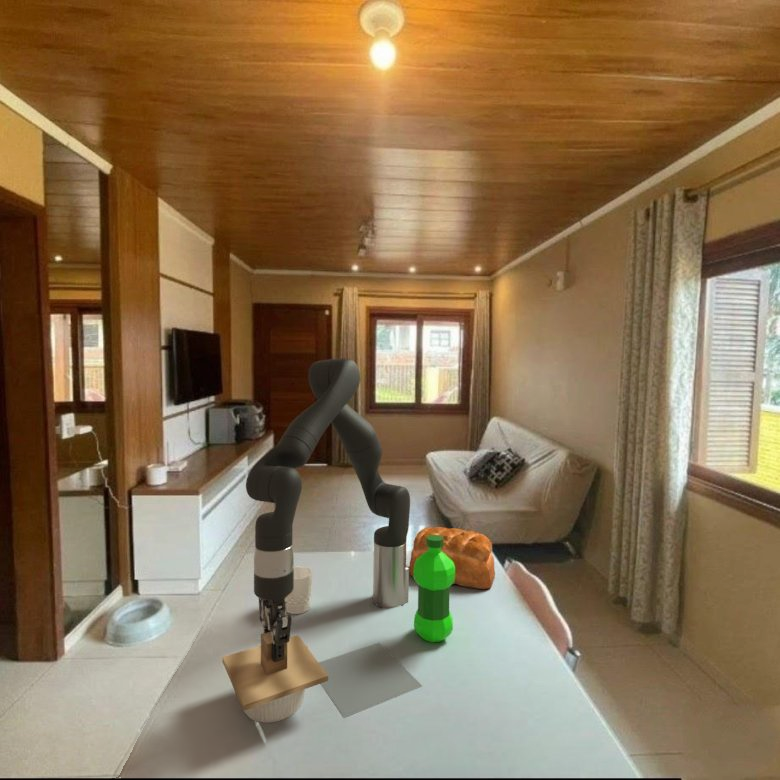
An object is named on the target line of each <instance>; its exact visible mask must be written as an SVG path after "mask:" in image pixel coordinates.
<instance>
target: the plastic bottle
mask: <svg viewBox="0 0 780 780" xmlns="http://www.w3.org/2000/svg"><path fill="white" fill-rule="evenodd" d="M426 546H428V551H427V552H425V553H424V554H422V555H421V556H420V557H419V558H417V559H416V561H415V564H414V570H413V575H414V577H413V580H414V582H415V583H417V586H418V588H417V589H418V590H417V591H418V592H417V593H418V594H417V597H418V598H417V610H416V612H415V614H414V617H413V618H414V620H413V628H414V631H415V632H416V634H418V636H419V637H421V638H422V639H423V640H425V641H427V642H430V643H441V642H443V641H444V640H445V639H446V638H448V637H449V636H450V635H451V634H452V632H453V626H454V625H453V616H452V613H451V611H450V590H451V589H450V588H451V586H452V585H454V584H453V583H454V580H455V565H454V563H453V561H452V560H451V559H450V558H449V557H448V556H447V555H445V554H444V553H443V552H442V551H441V547H443V537H442V536H440V535H429V536H427V538H426Z"/></svg>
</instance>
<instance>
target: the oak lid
mask: <svg viewBox="0 0 780 780" xmlns="http://www.w3.org/2000/svg"><path fill="white" fill-rule="evenodd" d="M275 632H276V631H275ZM271 640H272V637H271V632H267V633H264V632H263V633H261V634H260V645H259V646H255V647H252V648H250V649H245V650H242V651H238V652H235V653H230V654H227V655H224V656H222V657H221V658H222V664H223V666H224V669H225V671H226V674H227V676H228V679H229V681H230V682H231V685H232V687H233V689H234V692H235V695H236V697H237V699H238V703H239V704H240V706H241V709H242V711H243V712H245V710H248V709H251V708H254V707H256V706H259V705H262V704H265V703H268V702H270V701H273V700H276V699H279V698H282V697H284V696H287V695H290V694H293V693H295V692H298V691H301V690H304V689H305V690H307V689H309V688H312V687H315V686H318V685H321V683H323V682H326V681H328V675H327V673H326V672H325V671H324V669H323V668H322V666H321V665H320V664H319V662H320V661H318V660H317V658H316V656H314V654H313V653H312V652H311V650H310V649H309V647H308V646H307V645H306V644H305V643H304V641H303V640H302V638H301V637H300V635H298V634H296V635H294V636H290V638H289V642H287V643H284V659H283V660H281V661H278V662H273V660H272V641H271Z"/></svg>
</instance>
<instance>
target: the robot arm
mask: <svg viewBox="0 0 780 780" xmlns="http://www.w3.org/2000/svg"><path fill="white" fill-rule="evenodd" d="M307 377H308V382H309V385H310V389H311V391H312V393H313V395H314V397H315V399H316V401H315V402H314V403H313V404H311V405H309V407H307V408H306V409H304V410H303V411H302V412H301V413H300V414H298V415H297V416H296V417H295V418H294V419H293V420H292V421H291V423H289V426H288V427H287V428H286V430H285V431H284V433H283V434H282V436H281V438H280V439H279V441H278V443H277V444H276V445H275V446H274V447H272V448H271V449H270V450H269V451H268V452H267V453H265V454H264V455H263V456H262V457H261V458H260V459H259V460H258V461H257V462H256V463H255V464H254V465H253V466H252V468H251V469H250V471H249V473H248V474H247V477H246V482H245V491H246V493H247V495H248V496H249V497H250V498H251V499H253V500H254V501H256V502H257V501H258V502H264V503H270V504H274V505H275V506H274V511H269V512H265V513H262V514H260V515H258V516H257V518H256V520H255V531H254V533H255V536H254V539H255V540H254V541H255V542H254V543H255V545H254V555H253V593H254V595H255V596H256V597H257V599H258V609H259V620H260V622H261V623H262V624H261V626H262V629H263V633H267V632H271V637H272V640H271V641H272V660H273V662H278V661H281V660H283V659H284V643H287V642H289V638H290V637H291V629H292V619H293V617H292V615H291V614H287V612H286V611H287V603H286V601H285V598H286V597H287V596H288V595H289V594H290V593H291V592H292V591H293V588H294V567H295V566H294V564H295V562H294V561H295V555H294V548H293V530H294V529H293V523H294V519H295V515H296V512H297V507H298V503H299V500H300V497H301V494H302V490H303V489H302V488H303V486H302V485H303V481H302V477H301V475H300V473H299V471H298V470H296V469H298V468H302V467H304V466H305V465H306V464H307V462H308V461H309V460H310V457H311V456H312V454H313V453H314V450H315V449H316V446H317V444H318V443H319V441H320V439H321V437H322V436H323V434H324V433H325V431H326V430H327V429H328V427H329V426H330V425H331V424H332V426H333V428H334V430H335V433H337V436H338V438H339V441H340V443H341V445H342V446H343V449H344V452H345V454H346V456H347V458H348V459H349V461H350V464H351V465H352V467H353V470H354V472H355V475H356V477H357V478H358V479H357V480H358V481H359V483H360V485H361V488H362V491H363V495H364V497H365V500H366V505H367V506H368V508H369V510H370V511H371V513H373V514H374V515H376V516H378V517H382V518H386V519H388V525H387V526H380V527H379V528H377V529H376V530H375V531H374V532H373V565H372V566H373V568H372V569H373V573H372V574H373V575H372V576H373V577H372V578H373V581H372V585H373V586H372V588H373V589H372V596H373V597H372V602H373V603H374V605H375V606H377V607H378V608H379V607H380V608H382V609H383V608H390V609H391V608H398V607H400V606H403V605H404V604H405V603H406V602H407V603H408V602H409V587H410V585H409V583H410V576H409V575H410V574H409V567H408V566H407V536H408V532H409V526H410V522H409V521H410V512H411V511H410V510H411V496H410V492H409V490H408V488H406V487H404V486H401V485H395V484H389V483H386V482H385V481H384V480H383V478H382V476H381V475H380V471H379V467H380V464H381V461H382V458H383V447H382V444H381V441H380V439H379V436H378V435H377V432H376V429H375V428H374V427H373V425H372V424H371V423H370V422H369V421H368V420H367V419H366V418H365V417H363V416H362V415H361V414H359V413H358V412H357V411H356V410H354V409H353V408H352V407H351V406H350V405H349V404H348V402H349V401H350V400H351V399H352V398H353V396H354V395H355V393H356V392H357V390H358V388H359V386H360V382H361V372H360V368H359V366H358V365H357V363H356V362H355V361H354V360H353V359H351V358H345V357H344V358H342V357H341V358H331V359H323V360H318V361H315V362H313V363H312V364H311V365H310V366H309V369H308V376H307ZM275 631H276V632H275Z"/></svg>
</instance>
